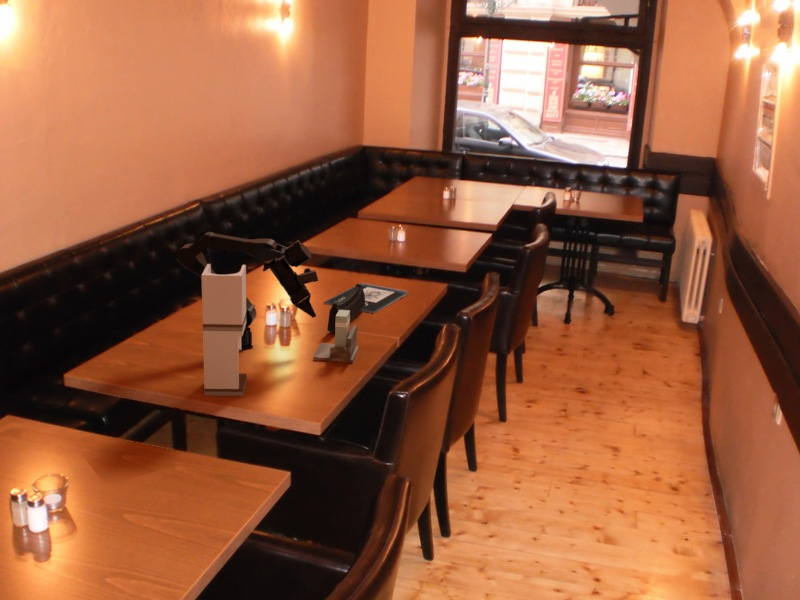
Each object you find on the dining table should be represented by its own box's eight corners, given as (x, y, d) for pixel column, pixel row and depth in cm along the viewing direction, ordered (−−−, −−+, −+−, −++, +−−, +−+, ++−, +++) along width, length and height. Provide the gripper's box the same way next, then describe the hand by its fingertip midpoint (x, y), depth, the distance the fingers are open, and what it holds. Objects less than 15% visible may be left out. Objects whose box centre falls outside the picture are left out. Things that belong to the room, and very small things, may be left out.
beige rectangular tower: (242, 395, 239) (241, 276, 229) (204, 395, 238) (201, 275, 228) (246, 380, 250) (245, 264, 240) (210, 379, 249) (207, 264, 239)
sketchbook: (323, 305, 324) (323, 300, 323) (361, 286, 350) (361, 281, 349) (373, 315, 315) (374, 309, 314) (408, 295, 341) (409, 290, 340)
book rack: (313, 359, 268) (313, 336, 265) (321, 345, 280) (321, 322, 278) (352, 363, 267) (353, 339, 264) (358, 348, 279) (359, 325, 277)
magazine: (333, 312, 286) (363, 267, 309) (324, 311, 286) (354, 266, 310) (338, 353, 295) (366, 306, 319) (329, 352, 296) (357, 305, 320)
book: (334, 354, 270) (335, 316, 266) (338, 347, 276) (339, 309, 272) (345, 355, 270) (346, 316, 266) (348, 348, 276) (350, 310, 272)
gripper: (308, 262, 259) (337, 304, 263) (304, 257, 278) (331, 296, 281) (278, 283, 259) (307, 324, 262) (276, 277, 277) (303, 315, 280)
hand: (313, 314), depth 271 cm, fingers open, 9 cm apart
